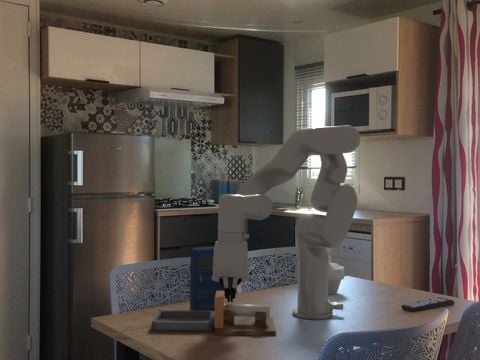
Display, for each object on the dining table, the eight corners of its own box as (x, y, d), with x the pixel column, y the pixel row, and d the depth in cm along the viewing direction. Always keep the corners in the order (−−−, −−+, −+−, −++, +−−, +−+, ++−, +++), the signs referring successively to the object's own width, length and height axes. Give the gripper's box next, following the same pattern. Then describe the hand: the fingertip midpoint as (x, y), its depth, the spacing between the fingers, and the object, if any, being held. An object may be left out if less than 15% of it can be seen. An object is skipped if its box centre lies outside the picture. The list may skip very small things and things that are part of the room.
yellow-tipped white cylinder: (268, 316, 158) (269, 303, 158) (269, 318, 155) (269, 305, 155) (220, 315, 158) (220, 302, 158) (220, 317, 155) (220, 304, 155)
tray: (214, 319, 165) (214, 310, 165) (212, 332, 152) (212, 322, 152) (158, 318, 165) (158, 310, 165) (151, 331, 152) (151, 322, 152)
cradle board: (272, 321, 163) (272, 302, 163) (275, 335, 149) (276, 315, 149) (216, 320, 163) (216, 302, 163) (213, 334, 149) (214, 314, 149)
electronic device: (195, 313, 172) (196, 249, 171) (188, 309, 176) (189, 247, 176) (222, 309, 177) (222, 247, 176) (214, 306, 181) (215, 245, 181)
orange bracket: (224, 318, 162) (224, 290, 161) (223, 328, 151) (223, 299, 151) (216, 317, 162) (216, 290, 161) (214, 328, 151) (214, 299, 151)
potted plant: (346, 296, 196) (348, 227, 196) (314, 296, 196) (315, 227, 196) (340, 289, 209) (341, 224, 208) (310, 288, 209) (311, 223, 208)
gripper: (256, 236, 160) (255, 298, 160) (205, 235, 160) (204, 297, 160) (257, 239, 152) (256, 304, 152) (204, 238, 152) (203, 304, 152)
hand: (230, 301), depth 156 cm, fingers closed
